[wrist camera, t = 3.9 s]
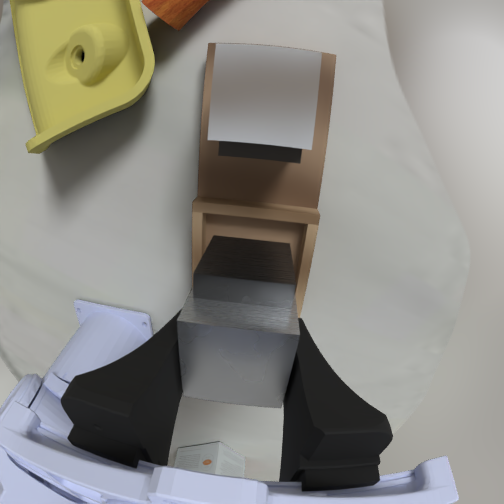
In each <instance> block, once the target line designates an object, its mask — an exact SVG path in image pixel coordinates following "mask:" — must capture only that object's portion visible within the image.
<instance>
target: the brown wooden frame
mask: <svg viewBox="0 0 504 504" xmlns="http://www.w3.org/2000/svg"><path fill="white" fill-rule="evenodd" d="M335 64H336V55H334V54H329V53H323V52H317V51H311V50H305V49H297V48H290V47H281V46H270V45H258V44H239V43H208V51H207V61H206V71H205V81H204V93H203V105H202V118H201V133H200V150H199V170H198V196H197V198H196V199H195V200H194V201H193V202H192V287H193V273H194V271H195V269H196V267H197V265H198V263H199V261H200V260H201V258H202V256H203V254H204V252H205V250H206V248H207V247H208V245H209V243H210V241H211V239H212V237H213V235H217V236H227V237H236V238H246V239H255V240H265V241H274V242H283V243H290V247H291V253H292V260H293V267H294V274H295V281H296V288H295V296H296V304H297V313H298V318H300V314H301V310H302V305H303V301H304V296H305V291H306V287H307V282H308V277H309V272H310V267H311V262H312V257H313V252H314V247H315V241H316V236H317V230H318V225H319V219H320V214H319V212H318V209H317V207H318V201H319V195H320V188H321V182H322V175H323V168H324V161H325V154H326V146H327V139H328V131H329V123H330V114H331V105H332V96H333V86H334V75H335Z"/></svg>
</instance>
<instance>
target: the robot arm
mask: <svg viewBox="0 0 504 504" xmlns="http://www.w3.org/2000/svg"><path fill="white" fill-rule="evenodd" d="M74 307H75V310H76V314H77V317H78V321H79V324H80V327H79V328H78V330H77V331H76V332H75V334H74V335H73V336H72V338H71V339H70V340H69V342H68V343H67V345H66V346H65V347H64V349H63V350H62V351H61V353H60V354H59V356H58V357H57V359H56V360H55V361H54V363H53V364H52V366H51V367H50V369H49V370H48V371H47V373H46V374H45V376H44V377H43V378H40V377H39V376H38V375H37V374H33V375H32V374H27V375H25V376H24V377H23V378H22V379H21V380H20V381H19V383H18V384H17V385H16V387H15V388H14V389H13V390H12V392H11V393H10V394H9V396H8V397H7V399H6V400H5V402H4V403H3V405H2V406H1V408H0V504H452V503H454V502H456V501H458V499H459V497H458V493H457V489H456V486H455V482H454V478H453V475H452V471H451V467H450V464H449V461H448V458H447V456H441V457H438V458H434V459H430V460H426V461H424V462H422V463H420V464H419V465H418V466H417V467H416V468H415V469H414V470H409V471H404V472H399V473H394V474H388V475H382V476H379V470H378V465H379V464H380V457H379V455H380V454H381V453H382V452H383V450H384V449H385V448H386V447H387V446H388V445H389V444H390V442H391V441H392V437H393V435H392V431H391V427H390V424H389V422H388V419H387V417H386V415H385V414H383V413H382V412H380V411H379V410H377V409H376V408H374V407H372V406H371V405H370V404H368V403H367V402H366V401H364V400H363V399H362V398H360V397H359V396H358V395H357V394H356V393H355V392H354V391H352V390H351V389H350V388H349V387H348V386H347V385H346V384H345V383H344V382H343V381H342V380H341V379H340V378H339V376H338V375H337V374H336V373H335V372H334V371H333V369H332V368H331V367H330V365H329V364H328V363H327V361H326V360H325V358H324V357H323V355H322V354H321V352H320V351H319V349H318V348H317V346H316V344H315V343H314V341H313V339H312V337H311V336H310V334H309V332H308V330H307V328H306V326H305V324H304V321H303V320H302V319H301V318H298V321H299V330H300V337H299V341H298V346H297V350H296V354H295V358H294V362H293V366H292V370H291V374H290V377H289V381H288V385H287V389H286V392H285V396H284V400H283V405H284V424H283V443H282V457H281V469H280V479H279V482H273V481H258V480H255V479H249V478H243V477H234V476H226V475H218V474H211V473H205V472H199V471H193V470H188V469H183V468H178V467H171V466H167V463H168V457H169V450H170V445H171V439H172V434H173V429H174V424H175V420H176V415H177V411H178V407H179V402H180V399H181V396H182V393H183V388H182V378H181V368H180V357H179V344H178V330H177V319H178V317H179V315H180V313H181V311H182V309H181V310H180V311H179V312H178V313H177V314H176V315H175V316H174V317H173V318H172V319H171V320H170V321H169V322H168V323H167V324H166V325H165V326H164V327H163V328H162V329H160V330H159V331H158V332H157V333H156V334H155V335H153V331H152V325H151V318H150V316H149V315H148V314H146V313H141V312H136V311H131V310H125V309H120V308H115V307H110V306H106V305H101V304H96V303H92V302H87V301H83V300H78V299H77V300H75V302H74ZM144 322H145V323H146V324H145V323H144Z"/></svg>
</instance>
